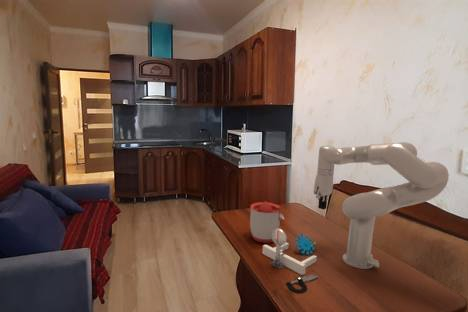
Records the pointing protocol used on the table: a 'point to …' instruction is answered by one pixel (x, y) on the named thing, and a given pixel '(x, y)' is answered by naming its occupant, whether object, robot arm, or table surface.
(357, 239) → the robot arm
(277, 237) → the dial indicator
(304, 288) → the micrometer
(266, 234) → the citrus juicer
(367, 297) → the table surface
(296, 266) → the white angled bar
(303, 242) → the gear
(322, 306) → the table surface
